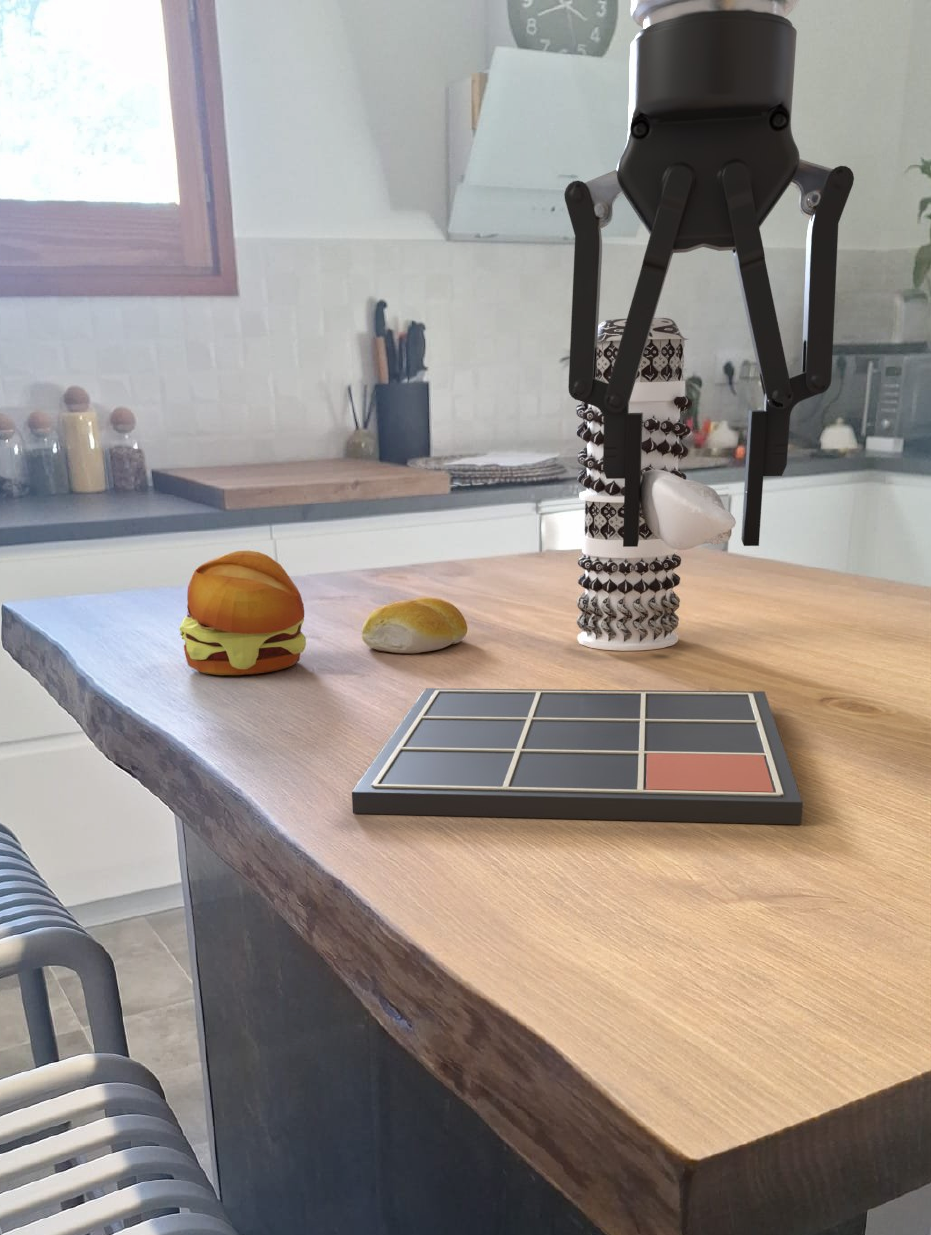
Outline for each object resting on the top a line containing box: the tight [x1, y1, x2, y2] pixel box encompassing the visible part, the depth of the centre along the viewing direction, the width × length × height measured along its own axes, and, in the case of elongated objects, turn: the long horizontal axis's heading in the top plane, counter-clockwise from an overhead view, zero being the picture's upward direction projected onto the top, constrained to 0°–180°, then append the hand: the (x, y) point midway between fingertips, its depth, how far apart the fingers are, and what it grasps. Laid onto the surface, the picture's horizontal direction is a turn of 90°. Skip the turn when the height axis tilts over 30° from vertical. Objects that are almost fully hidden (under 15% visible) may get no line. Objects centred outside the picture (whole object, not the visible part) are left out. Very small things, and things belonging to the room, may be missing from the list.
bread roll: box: [361, 596, 468, 654], centre depth 105 cm, size 8×9×4 cm
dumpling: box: [640, 470, 747, 551], centre depth 65 cm, size 7×5×4 cm
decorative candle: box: [575, 317, 694, 652], centre depth 100 cm, size 9×9×25 cm
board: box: [351, 687, 804, 826], centre depth 74 cm, size 23×23×1 cm
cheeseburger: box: [178, 550, 307, 676], centre depth 98 cm, size 10×11×10 cm
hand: (690, 542), depth 65 cm, fingers closed on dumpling, 5 cm apart
